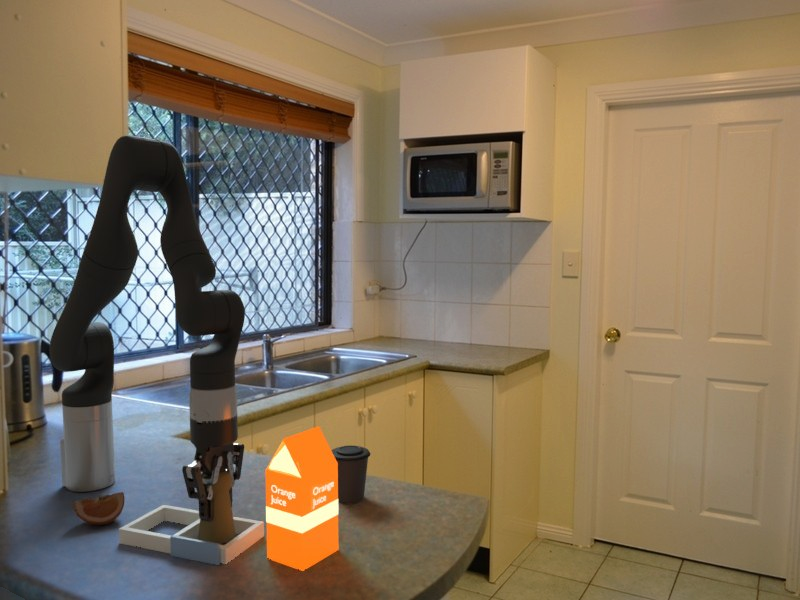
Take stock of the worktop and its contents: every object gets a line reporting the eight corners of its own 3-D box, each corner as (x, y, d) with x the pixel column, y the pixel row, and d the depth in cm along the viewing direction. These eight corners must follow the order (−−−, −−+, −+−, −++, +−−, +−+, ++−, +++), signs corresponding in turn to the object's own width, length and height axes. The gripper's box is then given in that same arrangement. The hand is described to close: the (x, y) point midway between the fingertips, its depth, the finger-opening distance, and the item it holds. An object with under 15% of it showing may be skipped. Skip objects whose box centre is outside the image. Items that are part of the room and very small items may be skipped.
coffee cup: (378, 495, 136) (378, 445, 135) (355, 509, 129) (355, 457, 128) (344, 488, 140) (344, 439, 139) (320, 501, 133) (320, 450, 132)
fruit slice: (75, 534, 119) (73, 506, 118) (73, 520, 125) (71, 493, 124) (127, 524, 123) (126, 497, 122) (122, 511, 129) (121, 485, 128)
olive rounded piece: (221, 525, 119) (219, 463, 118) (243, 535, 115) (242, 471, 114) (190, 537, 114) (188, 472, 113) (212, 548, 111) (211, 481, 110)
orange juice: (266, 558, 110) (263, 435, 108) (303, 538, 117) (301, 422, 115) (303, 571, 106) (301, 443, 104) (339, 549, 113) (338, 429, 111)
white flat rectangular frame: (116, 544, 115) (115, 526, 114) (163, 518, 125) (163, 500, 125) (223, 566, 107) (223, 546, 107) (264, 535, 118) (263, 517, 118)
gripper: (220, 401, 121) (222, 496, 122) (165, 421, 107) (168, 528, 109) (257, 404, 118) (259, 502, 120) (205, 426, 105) (208, 535, 106)
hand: (216, 513), depth 114 cm, fingers closed on olive rounded piece, 4 cm apart
